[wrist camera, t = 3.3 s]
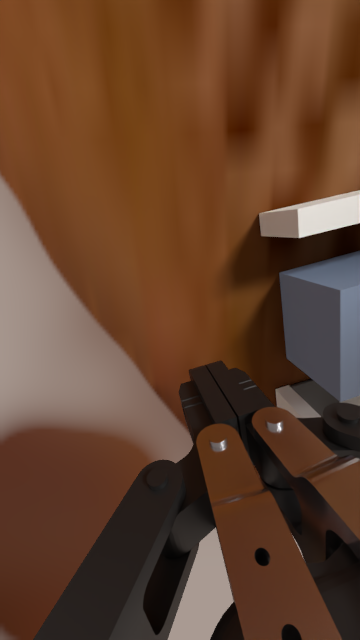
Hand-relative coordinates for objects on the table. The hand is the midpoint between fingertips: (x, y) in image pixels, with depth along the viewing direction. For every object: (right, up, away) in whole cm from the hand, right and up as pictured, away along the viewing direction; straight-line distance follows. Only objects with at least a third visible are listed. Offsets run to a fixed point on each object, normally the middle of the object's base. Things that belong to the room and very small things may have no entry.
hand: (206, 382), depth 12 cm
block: (+8, +4, +5) cm, 11 cm away
